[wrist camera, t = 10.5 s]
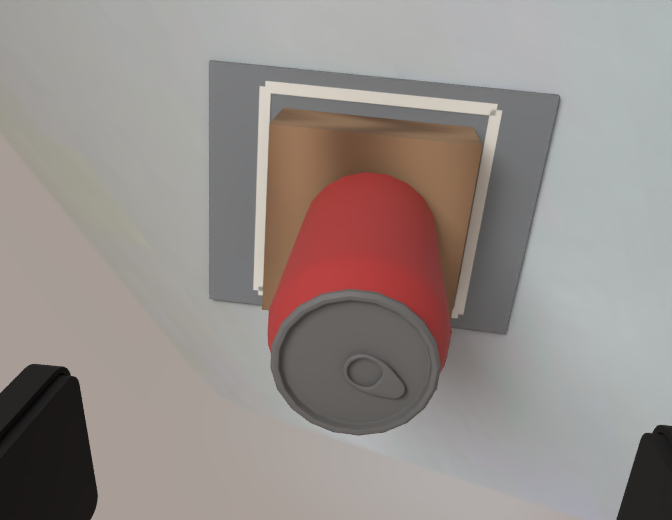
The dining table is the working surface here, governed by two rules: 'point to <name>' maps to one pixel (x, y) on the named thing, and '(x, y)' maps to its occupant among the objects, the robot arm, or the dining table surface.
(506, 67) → the dining table surface
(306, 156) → the walnut base block
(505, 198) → the grey mat
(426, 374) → the beer can
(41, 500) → the robot arm
